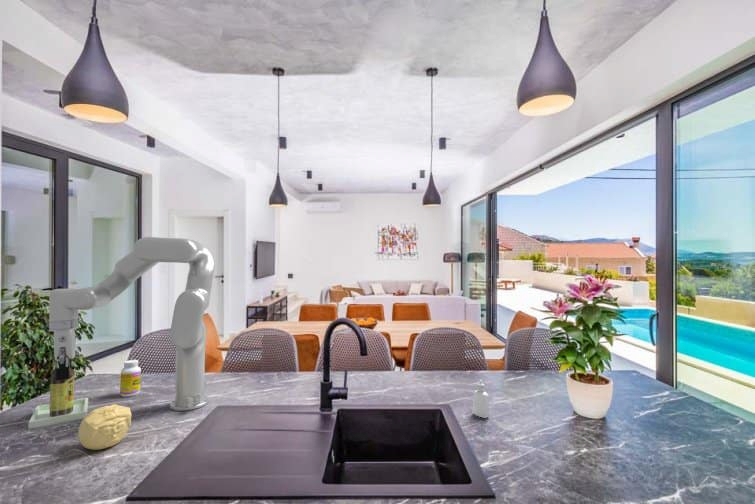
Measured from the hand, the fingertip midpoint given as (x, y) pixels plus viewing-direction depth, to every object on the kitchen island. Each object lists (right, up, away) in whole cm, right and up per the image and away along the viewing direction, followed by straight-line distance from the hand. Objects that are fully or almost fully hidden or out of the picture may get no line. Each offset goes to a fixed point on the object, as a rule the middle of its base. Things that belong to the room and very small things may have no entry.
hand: (64, 375), depth 127 cm
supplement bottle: (+9, -14, +20) cm, 26 cm away
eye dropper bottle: (+141, -14, +1) cm, 142 cm away
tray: (-1, -13, -1) cm, 13 cm away
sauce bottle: (0, -13, -1) cm, 13 cm away
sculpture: (+28, -13, -20) cm, 37 cm away
